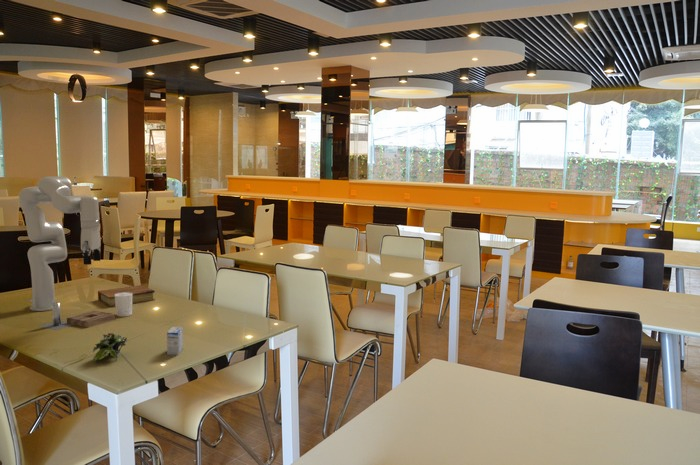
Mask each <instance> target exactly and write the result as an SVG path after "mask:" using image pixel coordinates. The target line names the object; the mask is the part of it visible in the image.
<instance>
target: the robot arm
mask: <svg viewBox="0 0 700 465" xmlns="http://www.w3.org/2000/svg"><path fill="white" fill-rule="evenodd" d="M72 188H73V184H72V181H71V179H70V178H68V177H67V176H60V175H58V176H44V177H42V178H40V179H39V180H38V181H37V186H28V187H24V188H22V189H21V190H20V191H19V194H18V202H19V206H20V208H21V210H22V213H23V215H24V219H25V225H26V232H27V236H28V239H29V241H31V243H43V242H44V243H45V242H51V243H45V244H37V245H34V246H31V247H30V248H29V249H28V251H27V259H28V262H29V266H30V276H31V289H32V299H30V300H29V302H30V303H32V305H31V306H29V310H30V311H32V312H45V311H53V308H52V303H54V302H56V298H55V276H54V271H53V269H52V268H51V267H50V265H49V264H53V263H60V262H63V261H66V259H67V257H68V248H67V247H68V246H67V242H66V235H65V230H64V228H63V226H62V224H61V223H59V221H46V216H45V212H44V210H43V209H42V208H41V207H40V206H38V205H45V204H52V206H53V208H54V209H55V210H57V211H59V212H60V213H63V214H76V213H80V228H81V229H80V250H81V253H82V258H83V259H82V260H83V262H82V263H83V265H92V261H93V262H100V261H102V259H101V248H102V246H101V242H102V241H101V237H100V235H101V234H100V227H101V225H100V209H99V199H98V197H96V196H90V195H72V193H71V192H72ZM92 251H93V252H92ZM91 253H92V255H91Z"/></svg>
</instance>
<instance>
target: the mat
mask: <svg viewBox="0 0 700 465" xmlns="http://www.w3.org/2000/svg"><path fill="white" fill-rule="evenodd" d="M72 326H75V325H74V324H69V323H67V321H62V320H61V325H60V326H53V321H52V322H48V323H44V324H42V325H41V324H40V325H38V327H39V328H45V329H48V330H49V329H50V330H54V331H57V330H61V329H65V328H68V327H72Z"/></svg>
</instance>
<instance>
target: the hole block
mask: <svg viewBox="0 0 700 465" xmlns="http://www.w3.org/2000/svg"><path fill="white" fill-rule="evenodd" d="M115 315H116V314H115V313H110V312H105V311H99V310H94V309H93V310H90V311H85V312H83V313H78V314H74V315H72V316H68V317H66V322H67V323H69V324H74V325H73V326H78V327H79V326H80V327H83V328H91V327H95V326H99V325H101V324H105V323H109V322H112V321H115V319H116V317H115Z"/></svg>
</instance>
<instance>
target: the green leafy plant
mask: <svg viewBox="0 0 700 465" xmlns="http://www.w3.org/2000/svg"><path fill="white" fill-rule="evenodd" d="M102 336H103V338H100V340H99V342H97V343H95V344H94V345H95V346H93V347H92V349H93V350H92V352H93V353H94V352H95V351H97V350H98V351H97V352H96V354H95V355H94V356H93V362H94V363H96V361H97V360H99V361H101V360H103V359H104V358H105V357H107V356H112V357H113V358H115V361H117V360H118V356H119V354H120V352H121V349H122V347H124V346H126V342H127V337H125V336H122V335H120V334H116V333H114V332H112V333H111V332H108V333H104V334H103V335H102Z"/></svg>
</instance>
